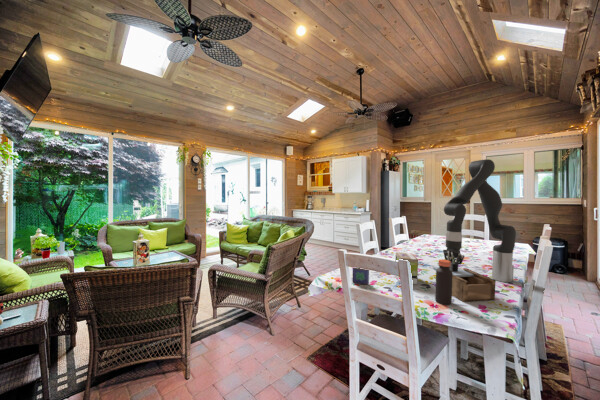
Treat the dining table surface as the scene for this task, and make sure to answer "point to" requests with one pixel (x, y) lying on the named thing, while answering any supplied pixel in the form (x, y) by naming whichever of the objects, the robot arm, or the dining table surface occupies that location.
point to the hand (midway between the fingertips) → (452, 270)
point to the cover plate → (458, 272)
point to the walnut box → (473, 287)
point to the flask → (360, 276)
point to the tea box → (413, 263)
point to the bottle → (444, 283)
